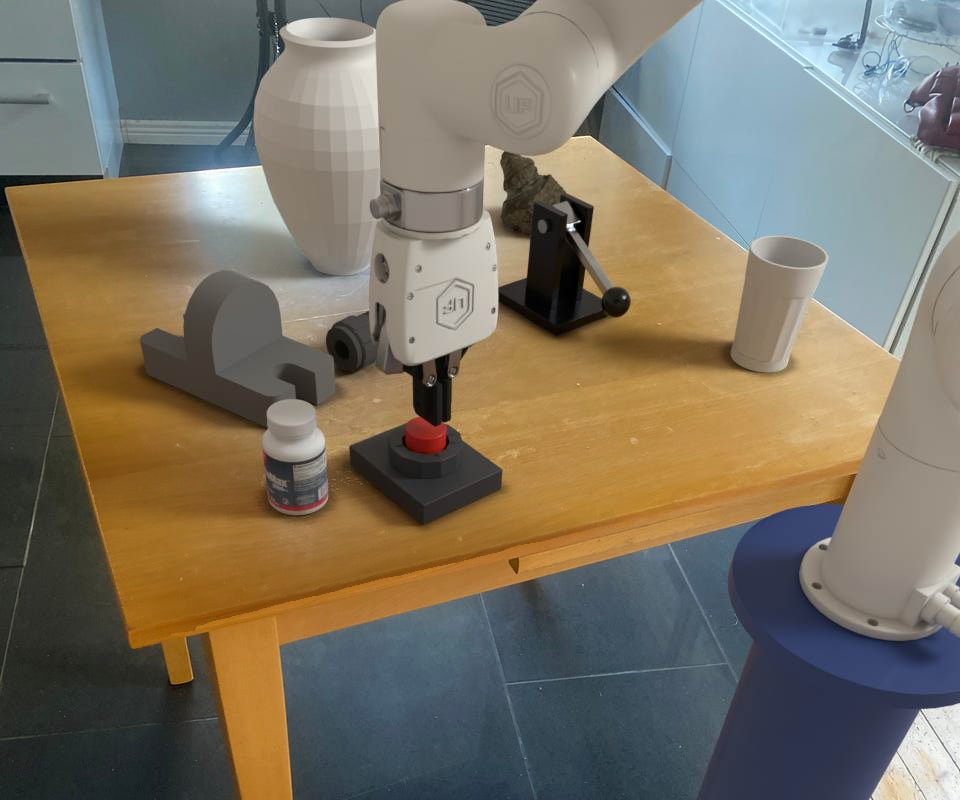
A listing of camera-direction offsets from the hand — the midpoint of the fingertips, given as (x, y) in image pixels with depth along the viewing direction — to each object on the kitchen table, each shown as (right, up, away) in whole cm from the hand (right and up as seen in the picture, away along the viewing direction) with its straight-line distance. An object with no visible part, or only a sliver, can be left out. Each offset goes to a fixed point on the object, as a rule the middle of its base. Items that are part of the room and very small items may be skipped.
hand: (432, 416), depth 85 cm
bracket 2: (+13, +20, +30) cm, 38 cm away
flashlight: (-5, +12, +21) cm, 25 cm away
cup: (+35, +12, +24) cm, 44 cm away
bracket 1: (-20, +7, +15) cm, 26 cm away
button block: (-1, -4, +5) cm, 7 cm away
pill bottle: (-12, -7, +2) cm, 14 cm away
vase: (-13, +27, +35) cm, 46 cm away
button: (-1, -2, +2) cm, 3 cm away
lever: (+16, +22, +24) cm, 36 cm away
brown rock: (+12, +35, +46) cm, 59 cm away
